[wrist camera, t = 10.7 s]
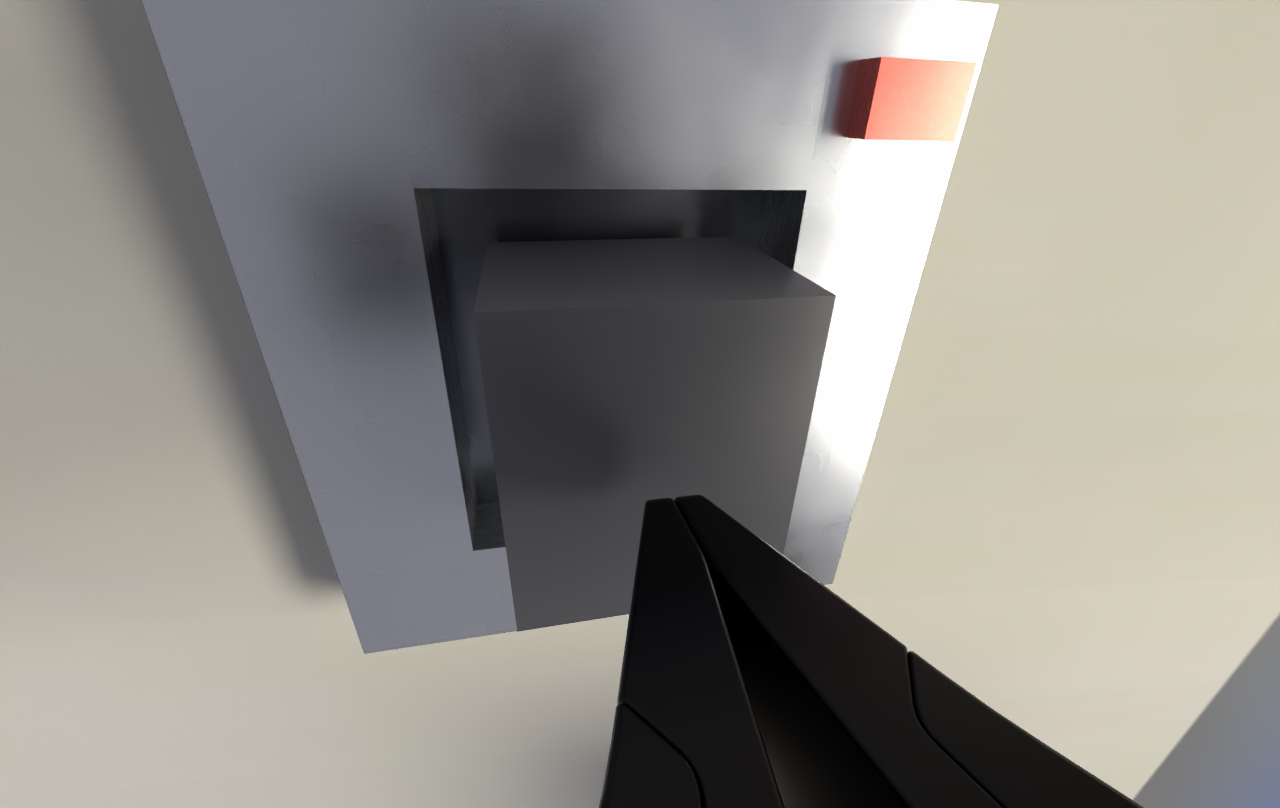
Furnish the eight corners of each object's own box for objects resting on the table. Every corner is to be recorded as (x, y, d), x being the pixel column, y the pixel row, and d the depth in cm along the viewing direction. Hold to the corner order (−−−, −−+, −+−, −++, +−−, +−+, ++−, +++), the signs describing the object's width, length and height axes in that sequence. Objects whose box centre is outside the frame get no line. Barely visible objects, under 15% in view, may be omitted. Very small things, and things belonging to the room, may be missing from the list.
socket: (801, 537, 18) (843, 599, 15) (381, 591, 15) (358, 675, 13) (922, 19, 11) (1027, -2, 9) (199, -34, 8) (85, -84, 6)
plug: (700, 450, 15) (776, 590, 11) (516, 469, 14) (517, 631, 10) (720, 226, 12) (835, 295, 8) (488, 231, 11) (473, 312, 7)
